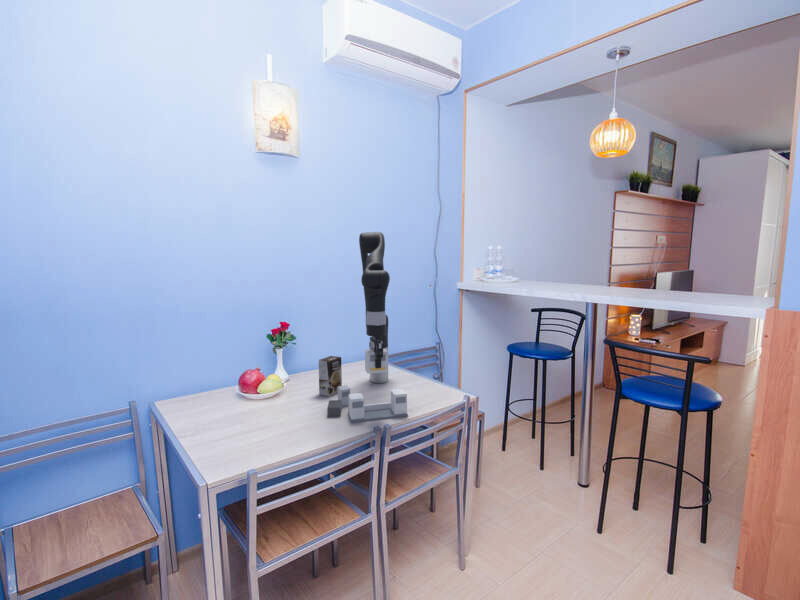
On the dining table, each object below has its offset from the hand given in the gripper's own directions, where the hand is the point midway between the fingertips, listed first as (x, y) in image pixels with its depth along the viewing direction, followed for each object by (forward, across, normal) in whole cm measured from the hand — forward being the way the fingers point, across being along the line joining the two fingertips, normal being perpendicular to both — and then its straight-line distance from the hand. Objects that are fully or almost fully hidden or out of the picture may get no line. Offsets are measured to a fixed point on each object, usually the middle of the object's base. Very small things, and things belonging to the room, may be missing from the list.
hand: (376, 365), depth 160 cm
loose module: (+2, 0, 0) cm, 2 cm away
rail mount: (+20, -1, 0) cm, 20 cm away
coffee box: (+20, -32, -15) cm, 41 cm away
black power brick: (+20, -8, -16) cm, 27 cm away
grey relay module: (+20, -17, -11) cm, 28 cm away
